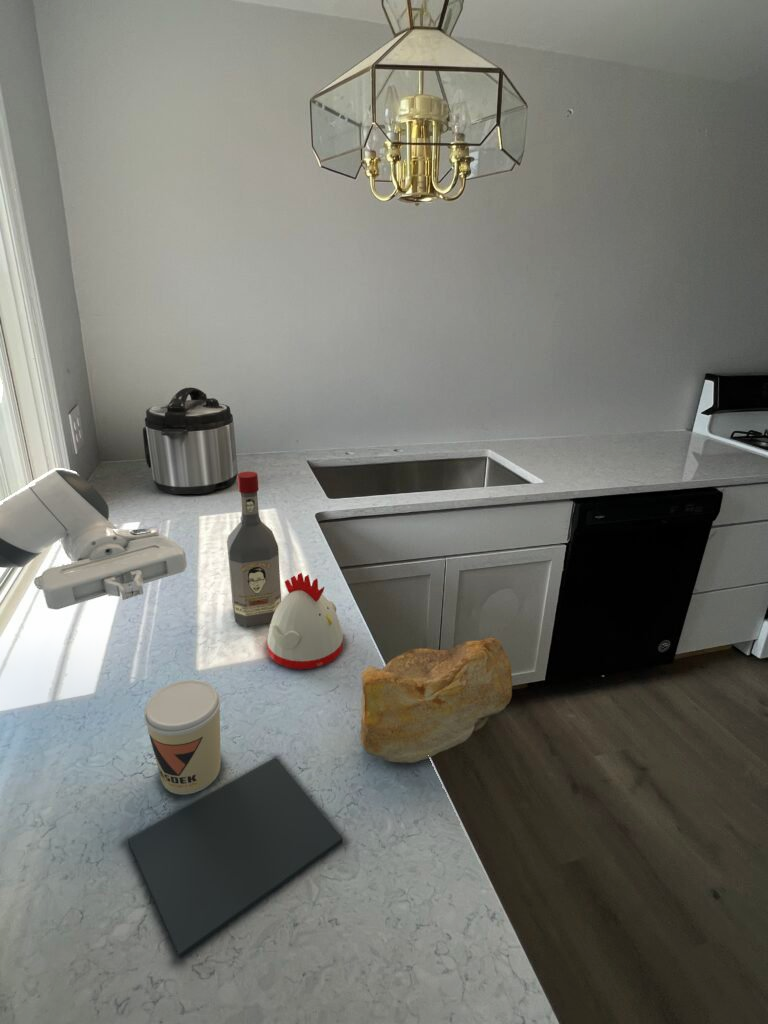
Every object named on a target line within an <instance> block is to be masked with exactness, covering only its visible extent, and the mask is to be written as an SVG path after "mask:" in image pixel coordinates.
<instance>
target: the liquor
mask: <svg viewBox="0 0 768 1024" xmlns="http://www.w3.org/2000/svg"><path fill="white" fill-rule="evenodd" d="M258 475H259V474H258V473H257V472H255V471H242V472H239V473H237V478H236V481H237V491H238V492H239V494H240V495H239V497H240V509H241V511H240V512H241V516H240V522H239V523H238V524H237V525H236V526H235V527H234V528H233V530H232V531H231V532H230V534H228V536H227V539H226V548H227V557H228V558H227V559H228V570H229V581H230V592H231V604H232V611H233V617H234V622H235V623H236V624H237V625H239V626H241V627H245V628H247V629H248V628H254V627H255V628H256V627H261V626H266V625H267V626H268V625H270V624H271V621H272V618H273V614H274V612H275V610H276V608H277V607H278V605H279V604H280V602H281V601H282V593H281V592H282V591H281V576H280V575H281V573H280V572H281V571H280V555H279V554H280V553H279V545H278V542H277V540H276V537H275V535H274V533H273V530H272V529H271V528H270V527H268V526H267V525H266V524H265V523H264V522H262V520H261V517H260V513H259V512H260V511H259V498H258V491H259V477H258Z"/></svg>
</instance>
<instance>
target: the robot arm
mask: <svg viewBox="0 0 768 1024" xmlns="http://www.w3.org/2000/svg"><path fill="white" fill-rule="evenodd" d="M2 383H3V382H2V380H1V378H0V402H2V397H3V384H2ZM109 509H110V508H109V505H108V503H107V501H106V500H105V499H104V498H103V496H102V495H101V494H100V493H99V491H98V490H97V489H96V488H95V487H94V486H93V485H91V483H90V482H89V481H87V479H85V477H84V476H82V475H81V474H80V473H79V472H77V471H74V470H70V469H67V468H57V467H55V468H54V469H52V470H50V471H48V472H46V473H45V474H43V475H41V476H40V477H38V478H36V479H35V480H33V481H31V482H30V483H28V485H26V486H25V487H23V488H21V489H19V490H18V491H17V492H15V493H13V494H11V495H10V496H8V497H7V498H5V499H4V500H2V501H0V568H5V569H14V568H15V569H16V568H25V567H26V566H27V565H28V564H29V563H30V562H32V561H33V560H34V559H35V558H37V557H38V556H39V555H40V554H42V552H43V551H44V550H46V549H48V548H49V547H51V546H52V545H53V544H55V543H57V542H59V543H60V547H61V549H62V550H63V552H64V554H65V555H66V557H67V558H68V559H69V560H70V562H68V563H64V564H59V565H56V566H52V567H50V568H47V569H45V570H44V571H42V573H41V575H40V576H36V577H35V578H34V580H33V584H34V585H35V587H36V588H37V589H38V590H42V593H43V597H44V601H45V604H46V607H47V608H48V609H50V610H61V609H64V608H67V607H70V606H71V607H72V606H74V605H77V604H81V603H84V602H88V601H91V600H95V599H97V598H102V597H104V596H107V595H108V596H114V597H120V599H121V600H122V601H125V600H128V599H131V598H134V597H138V596H140V595H144V589H143V588H144V585H145V584H147V583H151V582H154V581H157V580H161V579H164V578H168V577H172V576H174V575H178V574H181V573H184V572H185V571H186V569H187V567H188V564H187V556H186V551H185V549H184V548H183V547H182V546H181V545H180V544H179V543H177V542H176V541H175V540H173V539H171V538H170V537H168V536H164V535H161V534H160V532H159V530H158V529H157V528H155V527H150V528H137V529H120V528H119V529H118V528H117V527H116V526H115V524H113V523H112V522H111V521H110V520H109V518H110V510H109Z"/></svg>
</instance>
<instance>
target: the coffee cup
mask: <svg viewBox="0 0 768 1024" xmlns="http://www.w3.org/2000/svg"><path fill="white" fill-rule="evenodd" d="M220 707H221V697H220V694H219V693H218V691H217V690H216V688H215V687H214V686H212V685H211V684H210V683H208V682H205V681H203V680H197V679H185V680H179V681H175V682H172V683H170V684H168V685H166V686H163V687H162V688H160V689H159V690H158V691H156V692H154V694H152V696H151V697H150V698H149V700H148V702H147V703H146V705H145V708H144V711H143V720H144V722H145V723H144V724H145V725H146V726H147V732H148V735H149V739H150V743H151V748H152V751H153V755H154V758H155V761H156V765H157V769H158V773H159V778H160V780H161V782H162V785H163V786H164V788H165V789H166V790H167V791H168V792H170V793H172V794H175V795H180V796H181V795H182V796H184V795H191V794H195V793H198V792H200V791H202V790H204V789H206V788H208V787H209V786H210V785H211V784H212V783H214V781H215V780H216V779H217V777H218V776H219V774H220V771H221V760H222V759H221V755H222V754H221V717H220V716H221V712H220V711H221V710H220Z"/></svg>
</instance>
